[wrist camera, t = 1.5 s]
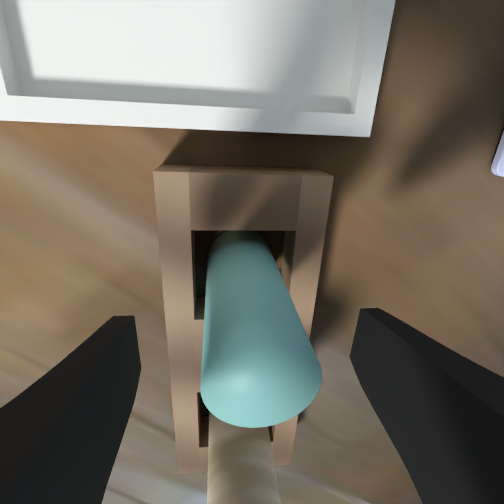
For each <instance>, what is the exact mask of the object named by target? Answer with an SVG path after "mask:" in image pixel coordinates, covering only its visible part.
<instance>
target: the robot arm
mask: <svg viewBox="0 0 504 504" xmlns="http://www.w3.org/2000/svg"><path fill="white" fill-rule="evenodd" d="M491 170H492V173H493V174H494V175H498V176H504V132H503V135H502V137H501V140H500V143H499V146H498V149H497V152H496V155H495V157H494V160H493V163H492V167H491ZM350 359H351V362H352V364H353V367H354V370H355V372H356V375H357V377H358V379H359V382H360V384H361V386H362V388H363V390H364V392H365V394H366V396H367V398H368V399H369V401H370V403H371V405H372V407H373V409H374V410H375V412H376V414H377V416H378V417H379V419H380V421H381V423H382V425H383V426H384V428H385V430H386V432H387V433H388V435H389V437H390V439H391V441H392V442H393V444H394V446H395V448H396V449H397V451H398V453H399V455H400V457H401V459H402V461H403V462H404V464H405V466H406V468H407V470H408V472H409V474H410V476H411V479H412V481H413V483H414V485H415V487H416V490H417V492H418V494H419V496H420V498H421V501H422V503H423V504H504V377H502V376H500V375H498V374H496V373H494V372H492V371H490V370H488V369H486V368H484V367H482V366H480V365H478V364H476V363H475V362H473V361H471V360H469V359H467V358H465V357H463V356H461V355H460V354H458V353H456V352H454V351H453V350H451V349H449V348H447V347H445V346H444V345H442V344H440V343H438V342H437V341H435V340H433V339H432V338H430V337H428V336H426V335H425V334H423V333H421V332H420V331H418V330H416V329H415V328H413V327H411V326H410V325H408V324H406V323H404V322H403V321H401V320H399V319H398V318H396V317H394V316H392V315H390V314H389V313H387V312H385V311H383V310H381V309H379V308H363V309H360V313H359V317H358V322H357V326H356V331H355V335H354V340H353V344H352V349H351V353H350ZM140 372H141V363H140V355H139V348H138V340H137V332H136V325H135V317H134V316H113V317H112V318H110V319H109V320H108V321H107V322H106V323H105V324H103V325H102V326H101V327H100V328H99V329H98V330H97V331H96V332H94V333H93V334H92V335H91V336H90V337H89V338H88V339H87V340H85V341H84V342H83V343H82V344H81V345H80V346H79V347H77V348H76V349H75V350H74V351H73V352H72V353H70V354H69V355H68V356H67V357H66V358H65V359H63V360H62V361H61V362H60V363H59V364H57V365H56V366H55V367H54V368H52V369H51V370H50V371H49V372H47V373H46V374H45V375H44V376H42V377H41V378H40V379H39V380H37V381H36V382H35V383H33V384H32V385H31V386H30V387H28V388H27V389H26V390H25V391H23V392H22V393H21V394H19V395H18V396H17V397H15V398H14V399H13V400H11V401H10V402H9V403H7V404H6V405H4V406H3V407H2V408H0V504H101V503H102V500H103V496H104V493H105V489H106V486H107V483H108V480H109V477H110V474H111V471H112V468H113V465H114V462H115V459H116V456H117V453H118V450H119V447H120V444H121V441H122V438H123V435H124V432H125V429H126V426H127V423H128V419H129V416H130V413H131V410H132V407H133V404H134V401H135V396H136V392H137V387H138V382H139V377H140Z"/></svg>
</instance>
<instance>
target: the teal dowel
mask: <svg viewBox="0 0 504 504" xmlns="http://www.w3.org/2000/svg"><path fill="white" fill-rule="evenodd" d="M321 380H322V371H321V367H320V364H319V361H318V359H317V357H316V354H315V352H314V350H313V347H312V345H311V343H310V340H309V338H308V336H307V333H306V331H305V329H304V327H303V324H302V322H301V320H300V317H299V315H298V313H297V310H296V308H295V306H294V303H293V301H292V299H291V297H290V294H289V292H288V290H287V287H286V285H285V283H284V280H283V278H282V276H281V273H280V271H279V269H278V267H277V264H276V262H275V260H274V257H273V255H272V253H271V250H270V248H269V246H268V244H267V242H266V241H265V239H264V238H263V237H262V236H261V235H259V234H258V233H256V232H254V231H247V230H229V231H226V232H224V233H222V234H221V235H219V236H218V237H217V238H216V239H215V240H214V241H213V243H212V244H211V246H210V249H209V252H208V261H207V278H206V296H205V314H204V332H203V350H202V368H201V386H200V391H201V397H202V400H203V402H204V404H205V406H206V407H207V409H208V410H209V411H210V412H211V413H212V414H213V415H214V416H216V417H217V418H218V419H220V420H222V421H224V422H226V423H229V424H231V425H235V426H240V427H248V428H259V427H267V426H272V425H276V424H279V423H282V422H284V421H287V420H289V419H291V418H293V417H294V416H296V415H298V414H299V413H300V412H302V411H303V410H304V409H305V408H306V407H307V406H308V405H309V404H310V403H311V402H312V401H313V400H314V398H315V397H316V395H317V393H318V391H319V389H320V385H321Z"/></svg>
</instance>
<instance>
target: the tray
mask: <svg viewBox="0 0 504 504" xmlns="http://www.w3.org/2000/svg"><path fill="white" fill-rule="evenodd" d="M394 5H395V0H0V120H3V121H26V122H48V123H70V124H92V125H114V126H136V127H158V128H180V129H202V130H224V131H246V132H268V133H290V134H312V135H334V136H356V137H370V134H371V128H372V123H373V118H374V112H375V107H376V102H377V96H378V91H379V86H380V80H381V75H382V69H383V64H384V59H385V53H386V48H387V43H388V37H389V32H390V27H391V21H392V16H393V11H394Z"/></svg>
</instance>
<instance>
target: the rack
mask: <svg viewBox="0 0 504 504" xmlns="http://www.w3.org/2000/svg"><path fill="white" fill-rule="evenodd" d="M153 179H154V191H155V203H156V215H157V227H158V239H159V250H160V262H161V274H162V286H163V298H164V310H165V321H166V333H167V345H168V357H169V369H170V381H171V392H172V404H173V416H174V428H175V440H176V452H177V464H178V474H188V473H199V472H208V446H209V416H206V417H201V412H200V392H201V391H200V386H201V368H202V350H203V332H204V314H205V297H197V292H196V262H195V232H194V230H247V231H285V234H284V245H283V255H282V266H281V276H282V278H283V280H284V283H285V285H286V287H287V290H288V292H289V294H290V297H291V299H292V301H293V303H294V306H295V308H296V310H297V313H298V315H299V317H300V320H301V322H302V324H303V327H304V329H305V331H306V333H307V336H308V338H309V339H310V333H311V326H312V319H313V313H314V306H315V299H316V293H317V286H318V279H319V273H320V266H321V259H322V253H323V246H324V239H325V233H326V226H327V219H328V213H329V206H330V199H331V193H332V186H333V179H334V176H332V175H330V174H328V173H325V172H323V171H321V170H319V169H294V168H262V167H230V166H197V165H165V164H162V165H160V166H159V167H158V168H156V169H155V170H154V171H153ZM297 419H298V415H296V416H294V417H293V418H291V419H289V420H287V421H284V422H282V423H279V424H276V425H272V426H268V430H269V436H270V442H271V447H272V453H273V459H274V465H275V466H276V465H286V464H291V459H292V453H293V446H294V439H295V433H296V426H297Z"/></svg>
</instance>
